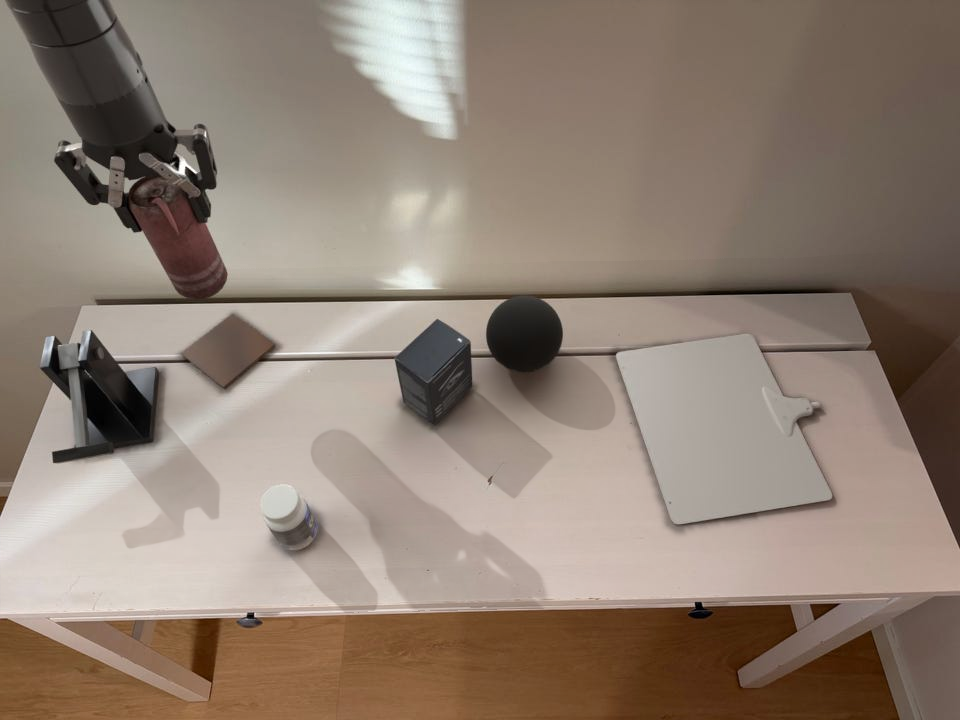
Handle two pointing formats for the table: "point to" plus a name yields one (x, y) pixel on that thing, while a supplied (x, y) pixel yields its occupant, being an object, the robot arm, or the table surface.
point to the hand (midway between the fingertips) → (172, 222)
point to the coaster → (228, 350)
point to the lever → (78, 410)
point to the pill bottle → (288, 517)
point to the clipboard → (720, 429)
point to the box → (435, 371)
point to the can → (178, 237)
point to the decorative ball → (524, 333)
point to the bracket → (108, 393)
